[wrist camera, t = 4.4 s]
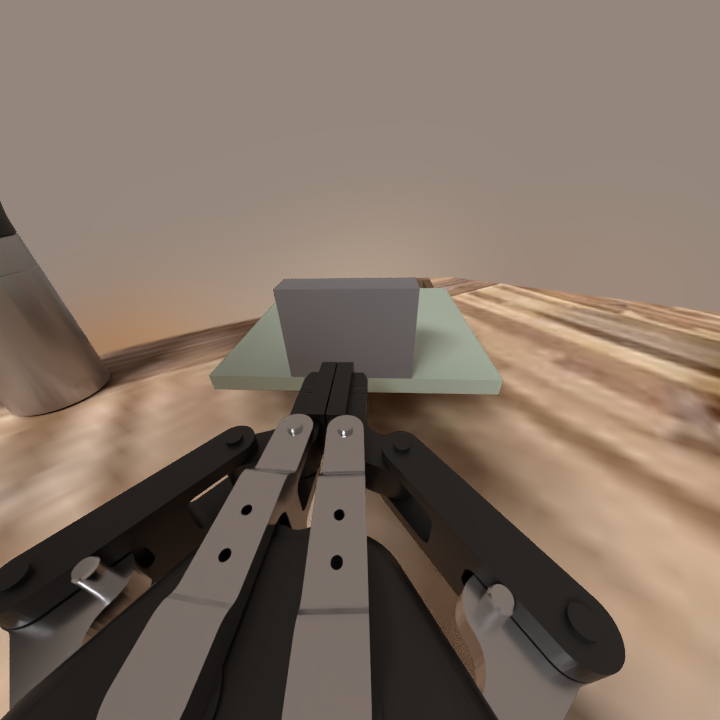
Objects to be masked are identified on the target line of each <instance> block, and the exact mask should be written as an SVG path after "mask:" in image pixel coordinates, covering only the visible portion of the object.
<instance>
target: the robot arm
mask: <svg viewBox="0 0 720 720" xmlns="http://www.w3.org/2000/svg"><path fill="white" fill-rule="evenodd" d="M109 379H110V372H109V371H108V369H107V368H106V366H105V365H104V363H103V362H102V360H101V358H100V357H99V355H98V354H97V352H96V351H95V349H94V348H93V346H92V345H91V343H90V341H89V340H88V338H87V337H86V335H85V334H84V332H83V331H82V329H81V328H80V326H79V325H78V323H77V322H76V320H75V319H74V317H73V316H72V314H71V313H70V311H69V310H68V308H67V307H66V305H65V304H64V302H63V301H62V299H61V298H60V296H59V295H58V293H57V292H56V290H55V289H54V287H53V286H52V284H51V283H50V281H49V280H48V278H47V276H46V275H45V273H44V272H43V270H42V269H41V268H40V266H39V265H38V263H37V262H36V260H35V259H34V257H33V256H32V254H31V253H30V251H29V250H28V248H27V247H26V245H25V243H24V242H23V240H22V239H21V237H20V236H19V235H18V234H17V233H16V231H15V228H14V227H13V225H12V224H11V222H10V221H9V219H8V217H7V216H6V214H5V211H4V209H3V207H2V204H1V202H0V404H1V405H2V406H5V407H6V408H7V409H8V410H9V411H10V412H11V413H12V414H13V415H17V416H33V415H39V414H44V413H48V412H52V411H55V410H59V409H61V408H64V407H67V406H70V405H72V404H74V403H76V402H79V401H81V400H83V399H85V398H87V397H88V396H90V395H92V394H93V393H95V392H96V391H98V390H99V389H101V388H102V387H103V386H104V385H105V384H106V383H107V382H108V381H109ZM367 415H368V379H367V377H366V375H365V374H364V373H355V372H354V362H322V364H321V367H320V370H319V372H311V373H310V374H309V375H308V376H307V377H305V379H304V381H303V384H302V387H301V389H300V391H299V394H298V396H297V399H296V401H295V404H294V407H293V409H292V412H291V414H290V416H287V417H285V418H284V419H283V420H281V421H280V423H279V424H278V426H277V427H276V429H274V430H271V431H267V432H262V433H258V434H255V433H254V431H253V429H251V428H250V427H248V426H236V427H233V428H230V429H228V430H226V431H225V432H223V433H221V434H220V435H218V436H216V437H215V438H213V439H211V440H210V441H208V442H206V443H205V444H203V445H201V446H200V447H198V448H196V449H195V450H193V451H191V452H190V453H188V454H186V455H185V456H183V457H181V458H180V459H178V460H176V461H175V462H173V463H171V464H170V465H168V466H166V467H165V468H163V469H162V470H160V471H158V472H157V473H155V474H153V475H152V476H150V477H148V478H147V479H145V480H143V481H142V482H140V483H138V484H137V485H135V486H133V487H132V488H130V489H128V490H127V491H125V492H123V493H122V494H120V495H118V496H117V497H115V498H113V499H112V500H110V501H108V502H107V503H105V504H103V505H102V506H100V507H98V508H97V509H95V510H93V511H92V512H90V513H88V514H87V515H85V516H83V517H82V518H80V519H79V520H77V521H75V522H74V523H72V524H70V525H69V526H67V527H65V528H64V529H62V530H60V531H59V532H57V533H55V534H54V535H52V536H50V537H49V538H47V539H45V540H44V541H42V542H40V543H39V544H37V545H35V546H34V547H32V548H30V549H29V550H27V551H25V552H24V553H22V554H20V555H19V556H17V557H16V558H14V559H12V560H11V561H9V562H8V563H7V564H5V565H4V566H3V567H1V568H0V627H1V628H2V629H3V630H5V631H8V632H9V635H10V710H9V712H8V713H7V714H6V715H5V716H4V717H3V718H2V719H1V720H564V718H565V716H566V714H567V712H568V710H569V708H570V706H571V704H572V702H573V700H574V698H575V696H576V694H577V692H578V690H579V688H580V687H582V686H585V685H587V684H590V683H592V682H595V681H597V680H600V679H603V678H605V677H608V676H610V675H613V674H615V673H617V672H618V671H619V670H620V669H621V668H622V666H623V664H624V661H625V648H624V643H623V640H622V637H621V634H620V632H619V630H618V627H617V626H616V624H615V622H614V621H613V619H612V617H611V616H610V615H609V613H608V612H607V611H606V609H605V608H604V607H603V606H602V605H601V604H600V603H599V602H598V601H597V600H596V599H595V598H594V597H593V596H592V595H591V594H590V593H588V592H587V591H586V590H585V589H584V588H583V587H582V586H581V585H580V584H578V583H577V582H576V581H575V580H574V579H573V578H572V577H571V576H570V575H568V574H567V573H566V572H565V571H564V570H563V569H562V568H561V567H560V566H558V565H557V564H556V563H555V562H554V561H553V560H552V559H551V558H550V557H548V556H547V555H546V554H545V553H544V552H543V551H542V550H541V549H540V548H538V547H537V546H536V545H535V544H534V543H533V542H532V541H531V540H530V539H529V538H527V537H526V536H525V535H524V534H523V533H522V532H521V531H520V530H519V529H517V528H516V527H515V526H514V525H513V524H512V523H511V522H510V521H509V520H507V519H506V518H505V517H504V516H503V515H502V514H501V513H500V512H499V511H497V510H496V509H495V508H494V507H493V506H492V505H491V504H490V503H489V502H487V501H486V500H485V499H484V498H483V497H482V496H481V495H480V494H479V493H477V492H476V491H475V490H474V489H473V488H472V487H471V486H470V485H469V484H467V483H466V482H465V481H464V480H463V479H462V478H461V477H460V476H459V475H458V474H456V473H455V472H454V471H453V470H452V469H451V468H450V467H449V466H448V465H446V464H445V463H444V462H443V461H442V460H441V459H440V458H439V457H438V456H436V455H435V454H434V453H433V452H432V451H431V450H430V449H429V448H428V447H426V446H425V445H424V444H423V443H422V442H421V441H420V440H419V439H418V438H416V437H415V436H414V435H412V434H410V433H408V432H404V431H396V432H392V433H390V434H388V435H387V436H383V435H380V434H378V433H375V432H373V431H372V430H371V429H370V428H369V427H368V426H367ZM323 454H324V457H323V466H322V472H321V466H320V464H321V460H322V455H323ZM320 472H321V474H320ZM226 475H228V477H227V478H226V479H225V480H223V481H222V482H220V483H219V484H218V485H216V486H215V487H214V488H212V489H211V490H209V491H208V492H207V493H205V494H204V495H202V496H201V497H200V498H198V499H197V500H195V501H193V502H190V501H191V500H192V499H193V498H195V497H196V496H197V495H199V494H200V493H202V492H203V491H204V490H206V489H207V488H209V487H210V486H211V485H213V484H214V483H216V482H217V481H219V480H220V479H221V478H223V477H224V476H226ZM365 488H367V489H369V490H372V491H374V492H377V493H379V494H381V496H382V498H383V500H384V501H385V503H386V504H387V505H388V506H389V508H390V509H391V510H392V512H393V513H394V514H395V515H396V517H397V518H398V519H399V521H400V522H401V523H402V524H403V526H404V527H405V528H406V530H407V531H408V532H409V533H410V535H411V536H412V537H413V539H414V540H415V541H416V542H417V544H418V545H419V546H420V548H421V549H422V550H423V551H424V553H425V554H426V555H427V557H428V558H429V559H430V560H431V562H432V563H433V564H434V566H435V567H436V568H437V569H438V571H439V572H440V573H441V575H442V576H443V577H444V578H445V580H446V581H447V582H448V584H449V585H450V586H451V587H452V589H453V590H454V591H455V593H456V594H457V595H458V596H459V598H458V601H457V603H456V608H455V619H456V624H457V627H458V631H459V633H460V635H461V637H462V639H463V641H464V643H465V644H466V646H467V648H468V650H469V652H470V655H471V657H472V661H473V664H474V669H475V677H476V683H475V682H474V680H473V679H472V677H471V675H470V674H469V672H468V671H467V669H466V668H465V666H464V664H463V663H462V661H461V660H460V658H459V657H458V655H457V654H456V652H455V650H454V649H453V647H452V646H451V644H450V643H449V641H448V639H447V638H446V636H445V635H444V633H443V632H442V630H441V628H440V627H439V625H438V624H437V622H436V621H435V619H434V618H433V616H432V614H431V613H430V611H429V610H428V608H427V607H426V605H425V603H424V602H423V600H422V599H421V597H420V596H419V594H418V593H417V591H416V589H415V588H414V586H413V585H412V583H411V582H410V580H409V578H408V577H407V575H406V574H405V572H404V571H403V569H402V567H401V566H400V564H399V563H398V561H397V560H396V559H395V557H394V556H393V555H392V554H391V553H390V552H389V551H388V550H387V549H386V548H385V547H384V546H383V545H381V544H380V543H379V542H377V541H376V540H374V539H372V538H370V537H368V536H367V528H366V493H365ZM315 489H316V492H315ZM314 492H315V500H314V507H313V515H312V522H311V527H309V528H307V517H308V513H309V509H310V506H311V503H312V499H313V496H314ZM161 577H162V578H161ZM160 578H161V579H160ZM155 582H156V583H155ZM154 583H155V584H154ZM153 584H154V585H153Z"/></svg>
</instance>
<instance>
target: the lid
mask: <svg viewBox="0 0 720 720" xmlns="http://www.w3.org/2000/svg"><path fill="white" fill-rule="evenodd" d="M273 291H274V296H275V301H276V302H275V303H274V304H273V306H271V307H270V309H269V310H268V311H267V312H266V313H265V314H264V316H262V317H261V319H260V320H259V321H258V322H257V323H256V324H255V325H254V326H253V327H252V329H251V330H250V331H249V332H248V333H247V334H246V335H245V336H244V337H243V339H242V340H241V341H240V342H239V343H238V344H237V345H236V346H235V347H234V349H233V350H232V351H231V352H230V353H229V354H228V355H227V356H226V357H225V359H224V360H223V361H222V362H221V363H220V364H219V365H218V366H217V367H216V369H215V370H214V371H213V372H212V373H211V374H210V375H209V377H210V379H211V381H212V384H213V386H214V389H232V390H285V391H300V389H301V387H302V384H303V381H304V379H305V377H307V376H308V375H309V374H310V373H311V372H319V370H320V367H321V364H322V362H354V372H355V373H364V374H365V375H366V377H367V379H368V392H391V393H444V394H497V395H498V394H499V391H500V388H501V385H502V382H503V379H502V378H501V376H500V374H499V373H498V371H497V370H496V368H495V367H494V365H493V363H492V362H491V360H490V359H489V357H488V355H487V354H486V352H485V351H484V349H483V347H482V346H481V344H480V343H479V341H478V340H477V338H476V336H475V335H474V333H473V332H472V330H471V328H470V327H469V325H468V324H467V322H466V321H465V319H464V317H463V316H462V314H461V313H460V311H459V309H458V308H457V306H456V305H455V303H454V301H453V300H452V298H451V297H450V295H449V294H448V292H447V290H446V289H445V288H419V285H418V282H417V280H416V278H339V279H337V278H336V279H335V278H333V279H284V280H283V281H282V282H280V284H278V285H277V286H276V287H275V288H274V289H273Z"/></svg>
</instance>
